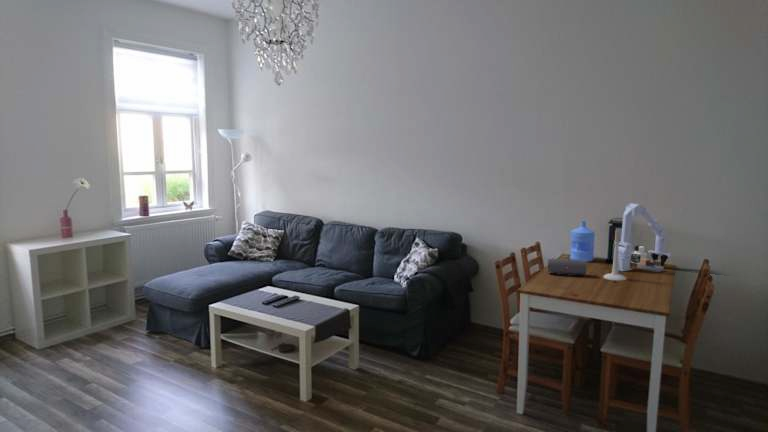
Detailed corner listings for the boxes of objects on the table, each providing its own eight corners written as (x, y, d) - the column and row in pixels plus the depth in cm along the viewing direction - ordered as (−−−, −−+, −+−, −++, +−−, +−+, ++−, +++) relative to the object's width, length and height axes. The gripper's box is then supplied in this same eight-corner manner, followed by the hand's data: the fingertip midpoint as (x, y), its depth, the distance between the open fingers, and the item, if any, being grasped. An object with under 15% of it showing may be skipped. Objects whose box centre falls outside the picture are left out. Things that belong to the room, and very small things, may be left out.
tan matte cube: (657, 266, 331) (658, 259, 331) (663, 267, 328) (664, 260, 327) (653, 267, 329) (654, 260, 328) (659, 268, 326) (659, 261, 325)
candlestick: (629, 281, 295) (631, 231, 291) (606, 280, 298) (608, 231, 294) (623, 276, 308) (625, 228, 304) (601, 275, 310) (603, 228, 306)
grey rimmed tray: (663, 270, 320) (664, 261, 319) (657, 272, 316) (657, 263, 316) (643, 266, 332) (643, 257, 331) (636, 267, 328) (637, 259, 328)
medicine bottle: (630, 262, 345) (631, 245, 343) (637, 261, 348) (637, 244, 347) (639, 264, 339) (640, 247, 337) (646, 263, 342) (647, 246, 340)
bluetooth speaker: (547, 275, 312) (548, 259, 311) (547, 271, 321) (548, 256, 320) (586, 277, 305) (586, 261, 303) (585, 274, 313) (585, 258, 312)
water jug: (577, 256, 366) (578, 219, 362) (597, 259, 354) (599, 221, 351) (566, 259, 356) (567, 221, 353) (586, 263, 344) (588, 223, 341)
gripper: (674, 246, 322) (673, 266, 324) (653, 243, 335) (652, 262, 337) (668, 247, 319) (666, 268, 321) (647, 244, 332) (645, 264, 333)
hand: (658, 265), depth 328 cm, fingers closed on tan matte cube, 4 cm apart
